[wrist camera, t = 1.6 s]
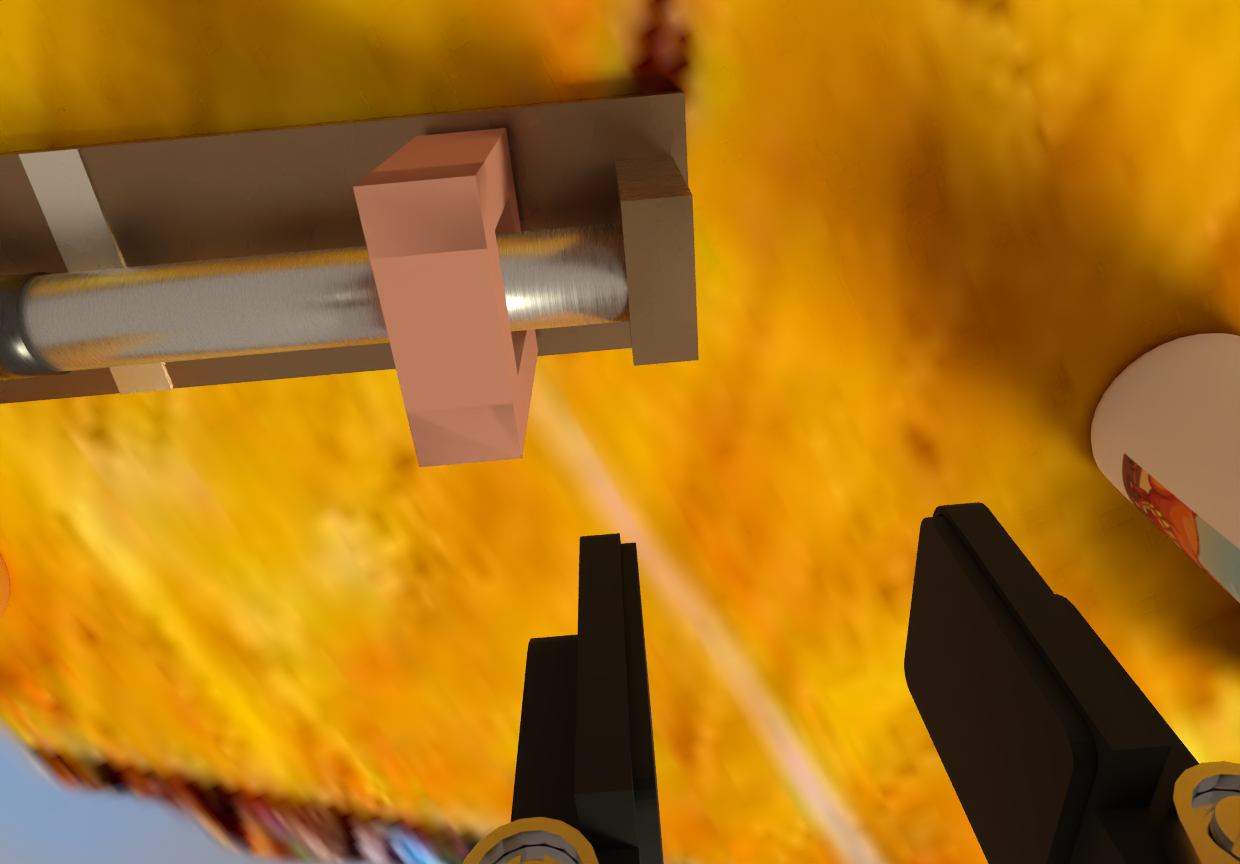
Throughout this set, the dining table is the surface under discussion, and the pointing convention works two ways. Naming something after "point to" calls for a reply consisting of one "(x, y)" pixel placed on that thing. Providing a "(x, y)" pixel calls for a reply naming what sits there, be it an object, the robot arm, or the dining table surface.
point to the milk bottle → (1180, 446)
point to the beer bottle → (4, 587)
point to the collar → (450, 293)
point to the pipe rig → (327, 248)
